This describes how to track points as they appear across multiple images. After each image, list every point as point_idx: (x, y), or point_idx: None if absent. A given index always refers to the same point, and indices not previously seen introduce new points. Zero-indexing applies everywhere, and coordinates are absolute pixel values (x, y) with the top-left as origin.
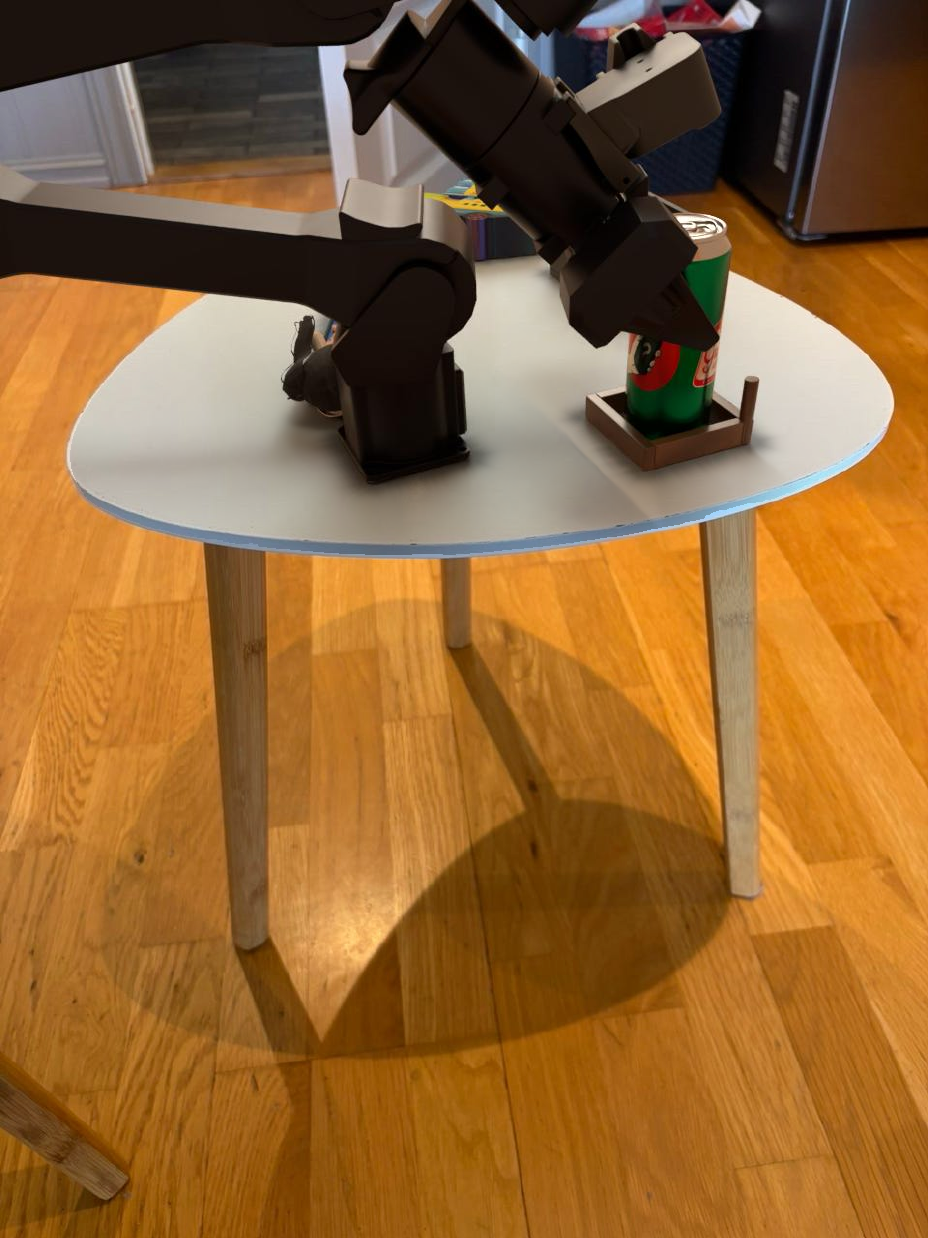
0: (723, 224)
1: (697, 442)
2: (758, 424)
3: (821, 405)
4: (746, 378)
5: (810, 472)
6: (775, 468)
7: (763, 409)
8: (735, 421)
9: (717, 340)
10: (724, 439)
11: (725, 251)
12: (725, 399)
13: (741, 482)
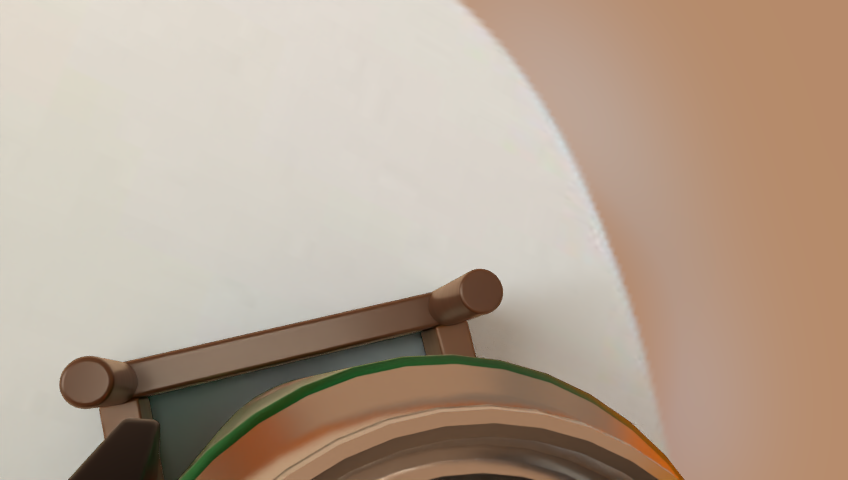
0: (537, 439)
1: None
2: (354, 236)
3: (299, 40)
4: (479, 308)
5: (593, 215)
6: (563, 284)
7: (279, 190)
8: (457, 340)
9: None
10: None
11: (667, 466)
12: (324, 319)
13: (606, 385)
